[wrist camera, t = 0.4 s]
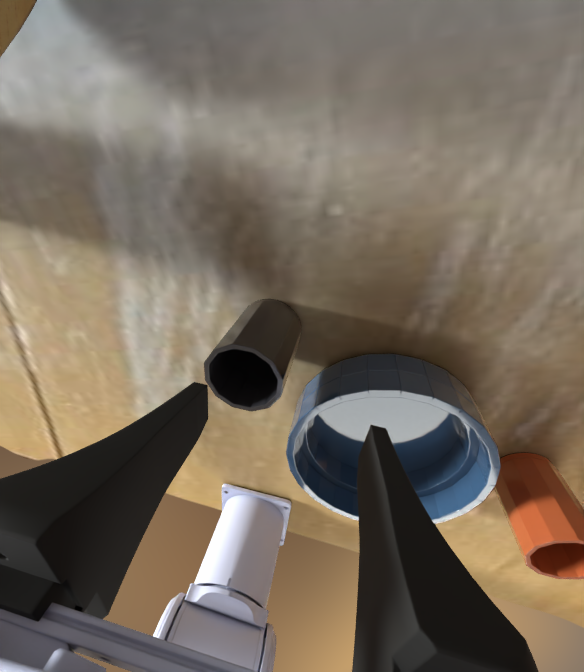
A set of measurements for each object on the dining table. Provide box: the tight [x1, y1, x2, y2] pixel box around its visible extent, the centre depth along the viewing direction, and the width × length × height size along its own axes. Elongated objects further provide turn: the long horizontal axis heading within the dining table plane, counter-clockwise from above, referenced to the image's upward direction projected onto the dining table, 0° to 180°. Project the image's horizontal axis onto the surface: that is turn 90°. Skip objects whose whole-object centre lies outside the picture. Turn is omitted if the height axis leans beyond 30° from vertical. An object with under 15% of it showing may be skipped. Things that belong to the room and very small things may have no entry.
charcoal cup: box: [204, 299, 301, 411], centre depth 20 cm, size 5×5×6 cm
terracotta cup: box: [494, 453, 584, 579], centre depth 22 cm, size 5×5×6 cm
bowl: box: [286, 354, 501, 524], centre depth 23 cm, size 14×14×4 cm
